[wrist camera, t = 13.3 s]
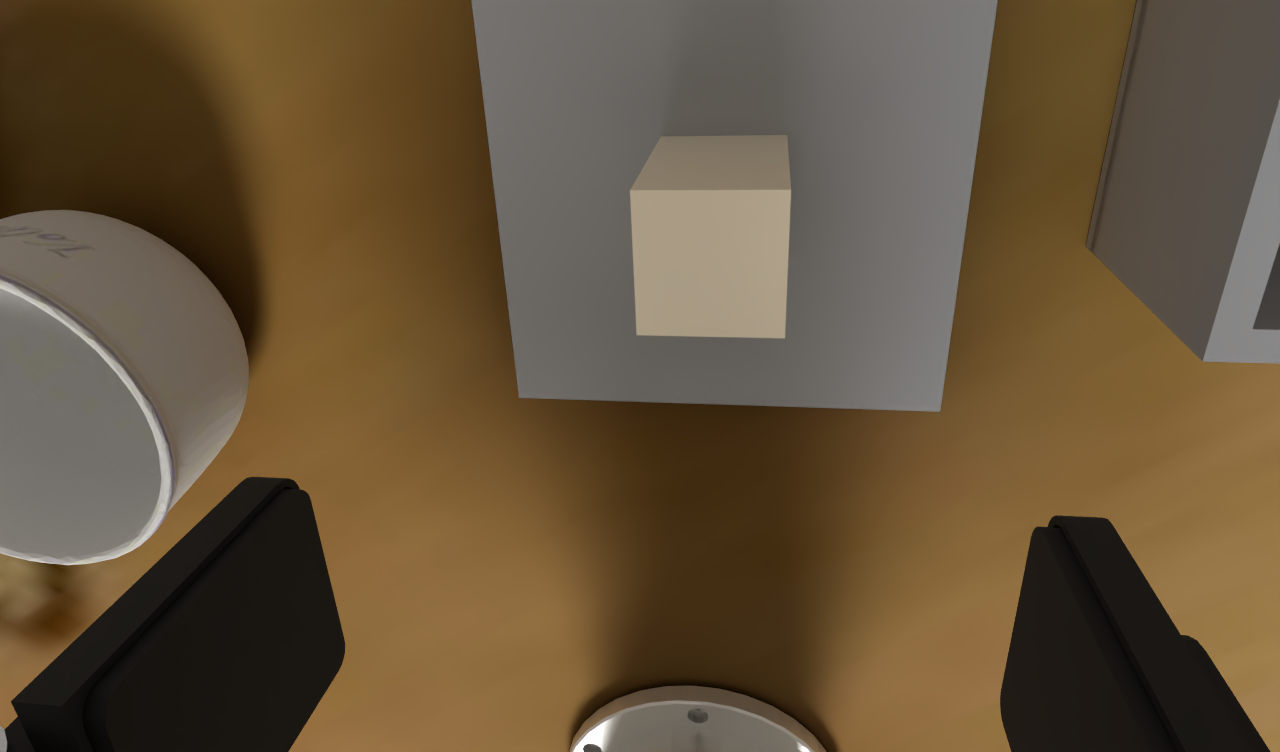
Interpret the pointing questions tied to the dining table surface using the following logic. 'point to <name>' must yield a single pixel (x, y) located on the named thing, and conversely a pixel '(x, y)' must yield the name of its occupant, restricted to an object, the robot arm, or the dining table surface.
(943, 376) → the lid
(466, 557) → the dining table surface
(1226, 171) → the open box
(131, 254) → the teacup
